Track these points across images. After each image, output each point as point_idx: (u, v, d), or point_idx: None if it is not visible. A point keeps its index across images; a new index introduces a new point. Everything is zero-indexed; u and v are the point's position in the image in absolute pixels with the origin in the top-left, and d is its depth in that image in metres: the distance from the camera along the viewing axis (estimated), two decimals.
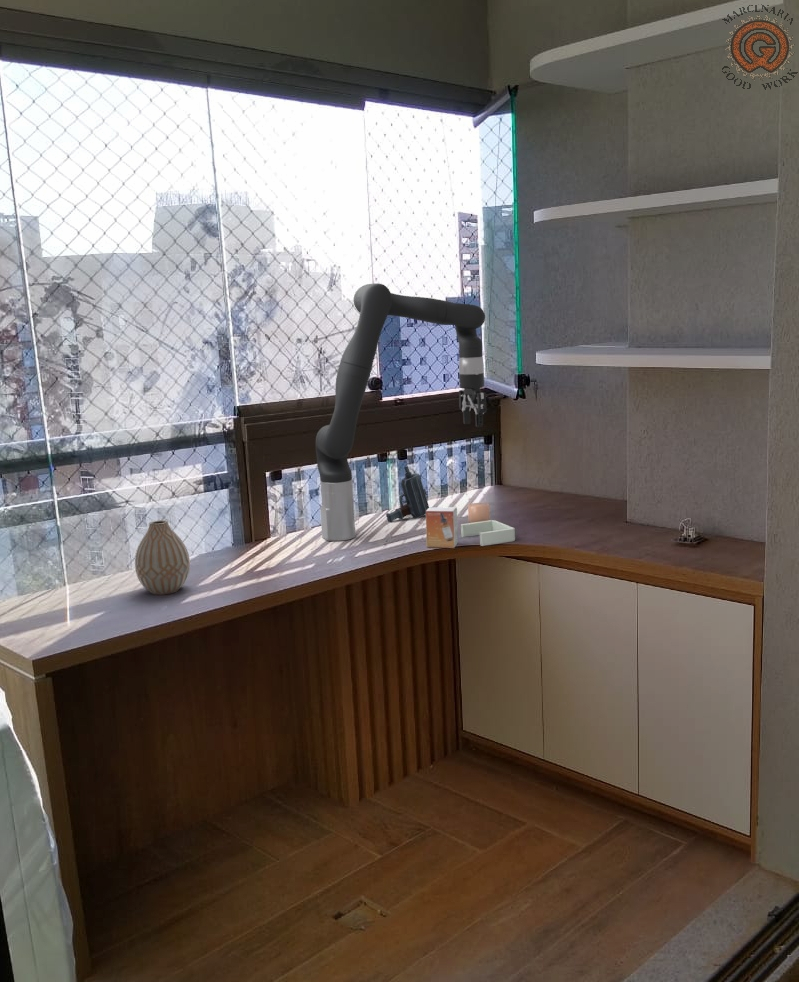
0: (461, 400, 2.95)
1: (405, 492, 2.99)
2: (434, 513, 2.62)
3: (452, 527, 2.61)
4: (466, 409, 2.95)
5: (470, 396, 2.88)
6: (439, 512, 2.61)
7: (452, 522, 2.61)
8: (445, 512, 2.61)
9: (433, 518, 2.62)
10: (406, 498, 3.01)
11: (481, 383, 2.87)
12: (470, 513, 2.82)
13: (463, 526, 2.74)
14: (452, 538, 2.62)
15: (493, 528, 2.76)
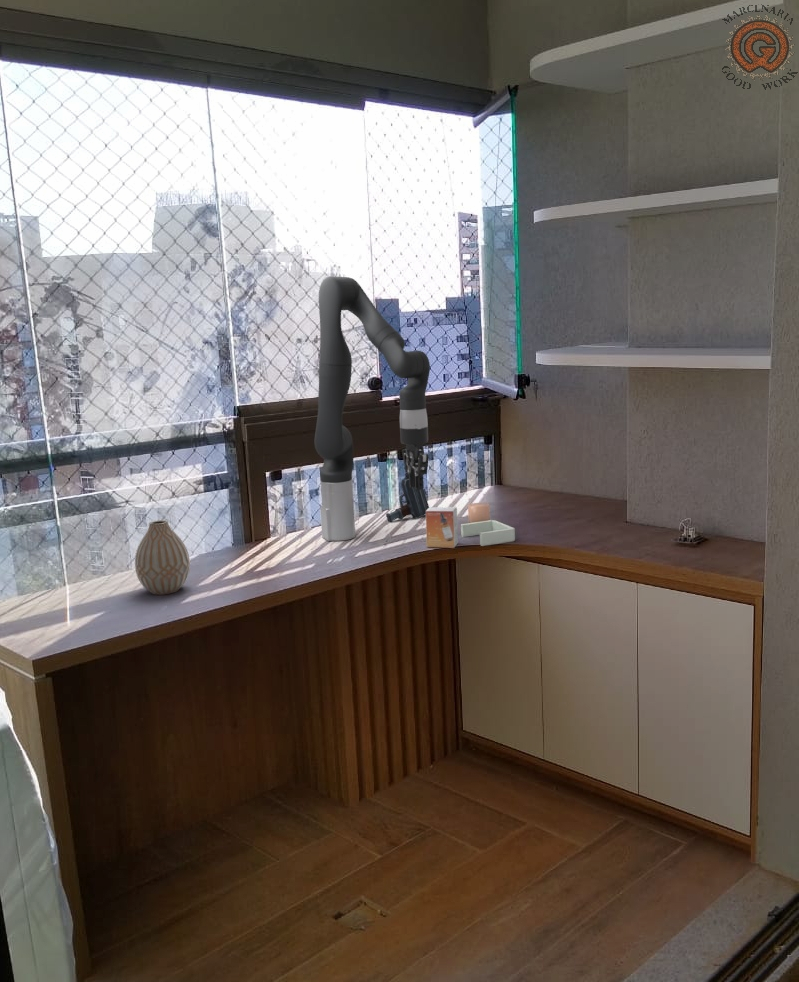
0: (405, 459, 2.63)
1: (405, 492, 2.99)
2: (434, 513, 2.62)
3: (452, 527, 2.61)
4: (412, 470, 2.61)
5: (412, 453, 2.56)
6: (439, 512, 2.61)
7: (452, 522, 2.61)
8: (445, 512, 2.61)
9: (433, 518, 2.62)
10: (406, 498, 3.01)
11: (424, 438, 2.55)
12: (470, 513, 2.82)
13: (463, 526, 2.74)
14: (452, 538, 2.62)
15: (493, 528, 2.76)
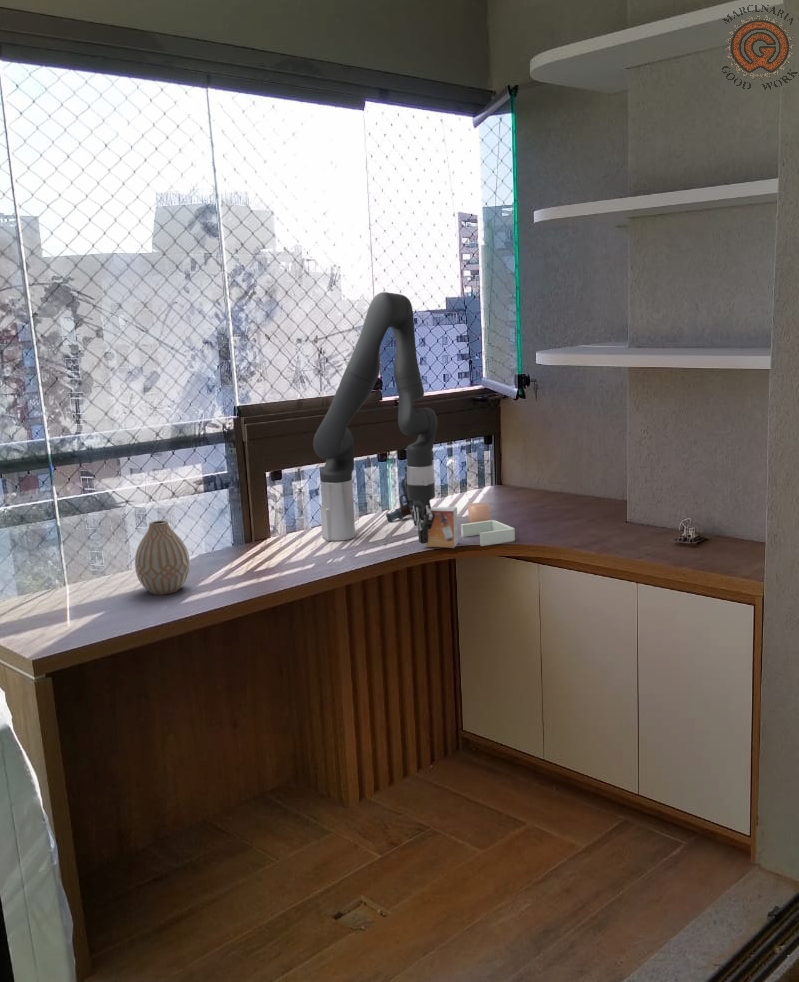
0: (414, 515, 2.65)
1: (405, 492, 2.99)
2: (434, 513, 2.62)
3: (452, 527, 2.62)
4: None
5: (419, 508, 2.59)
6: (439, 512, 2.61)
7: (452, 522, 2.61)
8: (445, 512, 2.61)
9: None
10: (406, 498, 3.01)
11: (431, 494, 2.58)
12: (470, 513, 2.82)
13: (463, 526, 2.74)
14: (452, 538, 2.62)
15: (493, 528, 2.76)
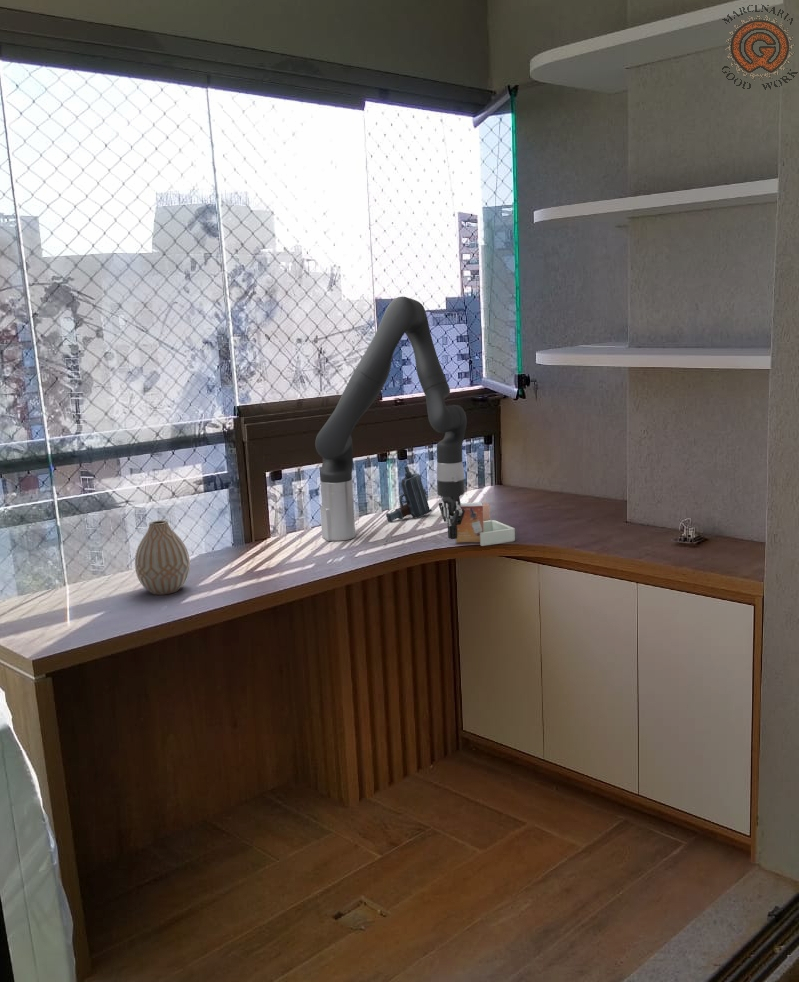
0: (443, 511, 2.68)
1: (405, 492, 2.99)
2: (463, 508, 2.65)
3: (482, 521, 2.66)
4: None
5: (449, 504, 2.62)
6: (469, 507, 2.65)
7: (482, 516, 2.66)
8: (475, 507, 2.65)
9: None
10: (406, 498, 3.01)
11: (461, 491, 2.61)
12: None
13: None
14: None
15: (493, 528, 2.76)
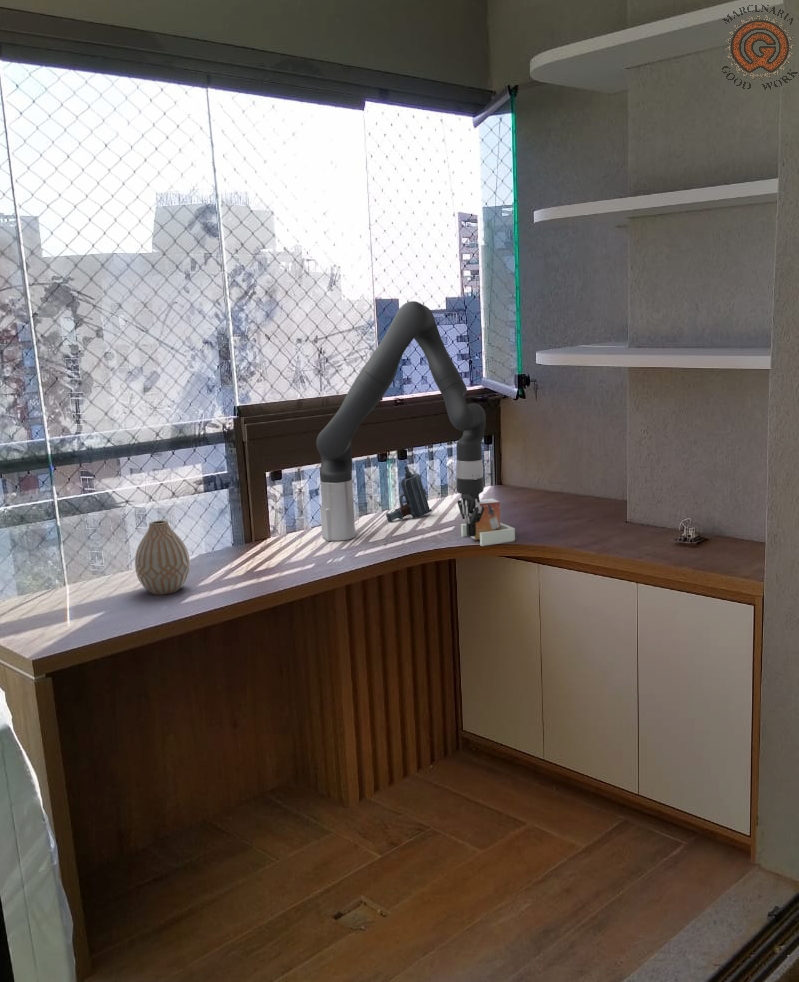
0: (462, 509, 2.70)
1: (405, 492, 2.99)
2: (482, 505, 2.68)
3: (499, 517, 2.70)
4: None
5: (468, 502, 2.64)
6: (487, 504, 2.68)
7: (499, 512, 2.70)
8: (492, 503, 2.69)
9: None
10: (406, 498, 3.01)
11: (480, 488, 2.64)
12: None
13: (463, 526, 2.74)
14: (499, 528, 2.71)
15: None
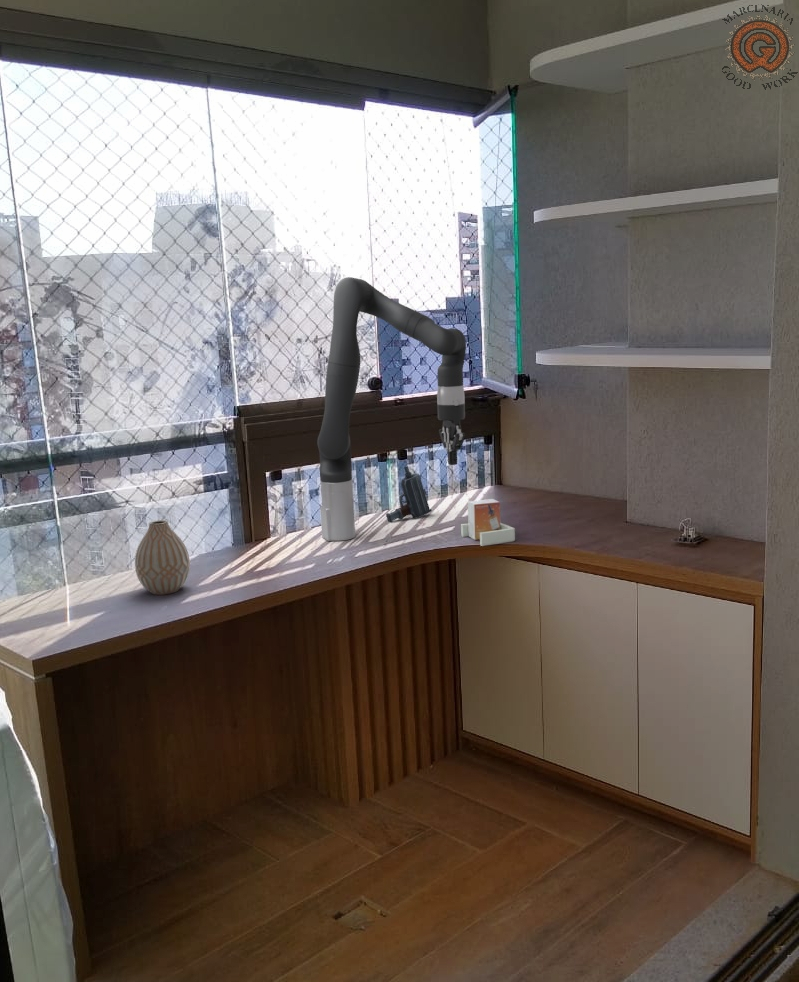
0: (443, 438, 2.66)
1: (405, 492, 2.99)
2: (482, 505, 2.68)
3: (499, 517, 2.70)
4: None
5: (449, 429, 2.60)
6: (487, 504, 2.69)
7: (499, 513, 2.70)
8: (492, 504, 2.69)
9: (481, 510, 2.68)
10: (406, 498, 3.01)
11: (461, 415, 2.59)
12: None
13: (463, 526, 2.74)
14: (499, 528, 2.71)
15: None
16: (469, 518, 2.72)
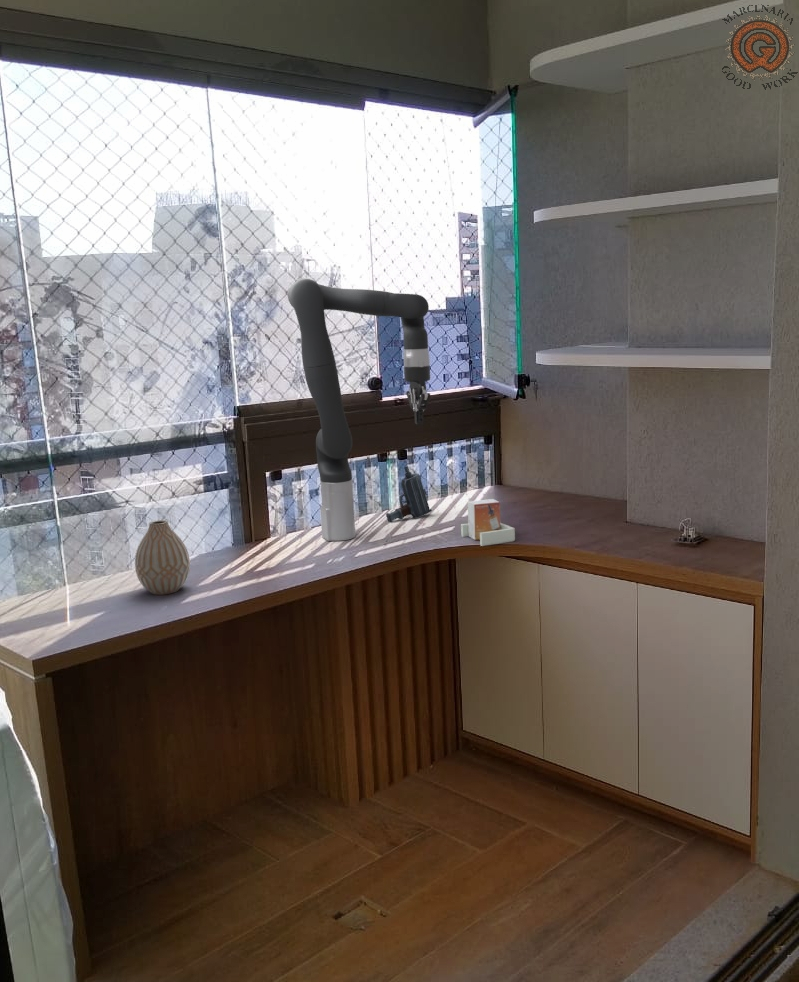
0: (410, 399, 2.81)
1: (405, 492, 2.99)
2: (482, 505, 2.68)
3: (498, 517, 2.70)
4: None
5: (415, 390, 2.75)
6: (487, 504, 2.69)
7: (499, 513, 2.70)
8: (492, 504, 2.69)
9: (481, 510, 2.68)
10: (406, 498, 3.01)
11: (426, 376, 2.74)
12: None
13: (463, 526, 2.74)
14: (499, 528, 2.71)
15: None
16: (469, 518, 2.72)
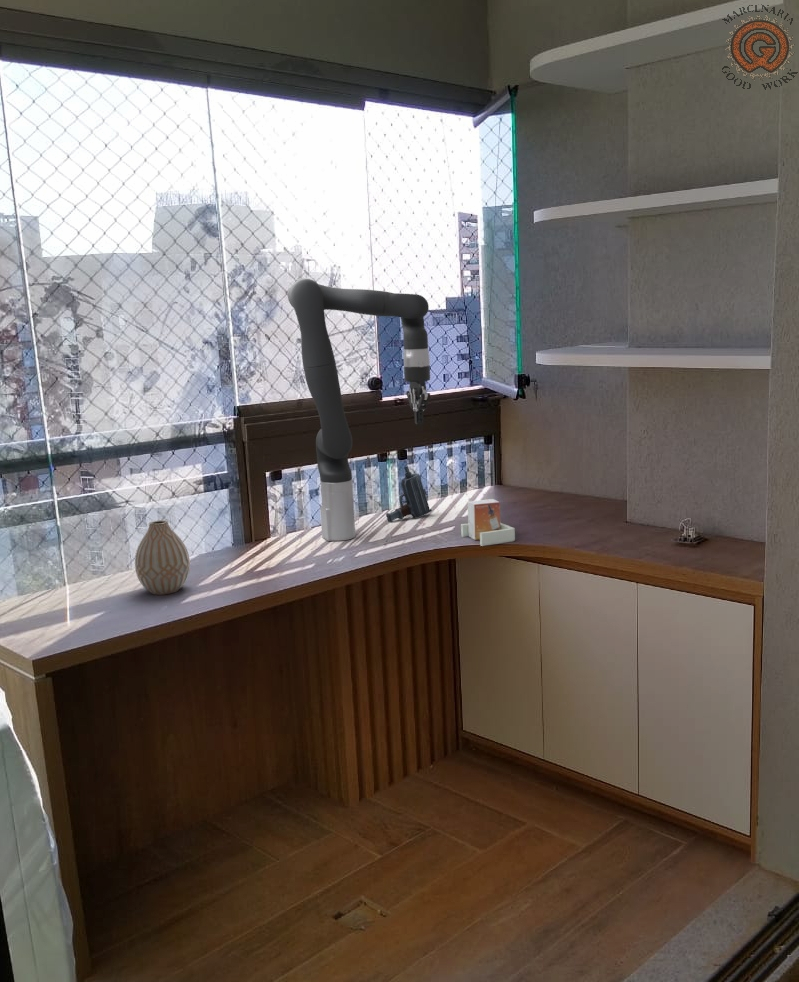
0: (410, 399, 2.81)
1: (405, 492, 2.99)
2: (482, 505, 2.68)
3: (498, 517, 2.70)
4: None
5: (415, 390, 2.75)
6: (487, 504, 2.69)
7: (499, 513, 2.70)
8: (492, 504, 2.69)
9: (481, 510, 2.68)
10: (406, 498, 3.01)
11: (426, 376, 2.74)
12: None
13: (463, 526, 2.74)
14: (499, 528, 2.71)
15: None
16: (469, 518, 2.72)
